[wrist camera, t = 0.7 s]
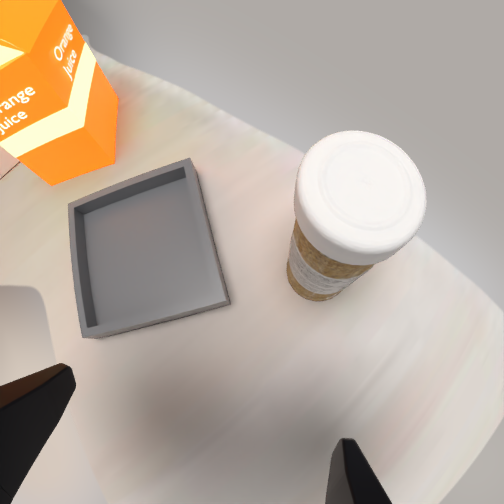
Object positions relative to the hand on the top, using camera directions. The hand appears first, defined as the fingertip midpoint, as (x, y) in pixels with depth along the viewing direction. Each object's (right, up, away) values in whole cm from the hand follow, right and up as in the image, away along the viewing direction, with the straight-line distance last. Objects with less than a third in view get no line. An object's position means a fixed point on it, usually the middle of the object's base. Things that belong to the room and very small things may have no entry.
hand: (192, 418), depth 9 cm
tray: (-6, +5, +15) cm, 17 cm away
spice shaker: (+6, +4, +14) cm, 16 cm away
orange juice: (-15, +16, +19) cm, 29 cm away
